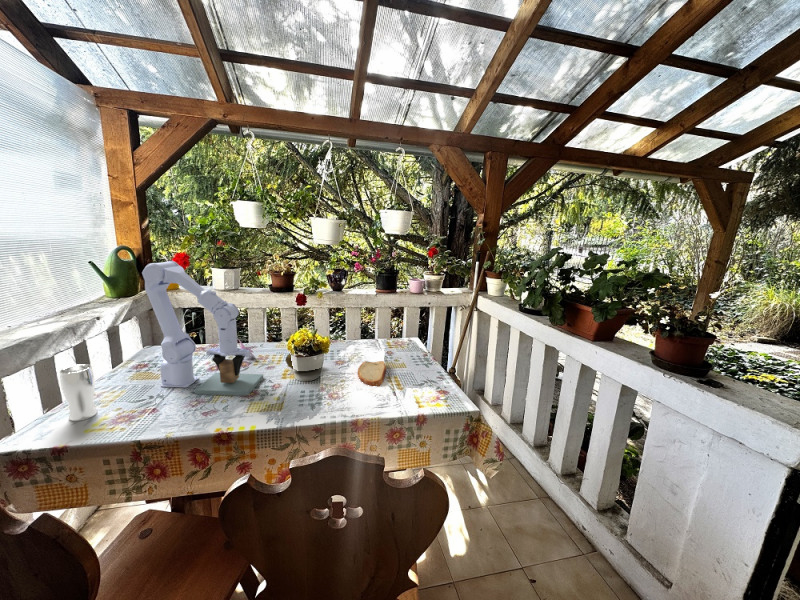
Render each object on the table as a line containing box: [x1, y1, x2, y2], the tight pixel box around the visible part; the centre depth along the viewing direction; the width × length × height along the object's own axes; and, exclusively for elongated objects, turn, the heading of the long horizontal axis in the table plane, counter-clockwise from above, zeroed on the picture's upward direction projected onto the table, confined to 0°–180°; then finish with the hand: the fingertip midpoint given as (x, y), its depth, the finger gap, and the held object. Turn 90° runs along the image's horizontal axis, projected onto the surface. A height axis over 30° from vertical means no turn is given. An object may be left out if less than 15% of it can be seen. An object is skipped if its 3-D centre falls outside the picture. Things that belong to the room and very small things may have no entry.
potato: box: [285, 353, 294, 370], centre depth 136 cm, size 8×13×8 cm, turn 94°
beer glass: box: [59, 363, 98, 422], centre depth 98 cm, size 7×7×15 cm
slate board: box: [193, 372, 264, 396], centre depth 122 cm, size 18×14×2 cm
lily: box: [237, 337, 254, 357], centre depth 146 cm, size 12×12×10 cm
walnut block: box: [218, 358, 239, 383], centre depth 120 cm, size 4×4×7 cm
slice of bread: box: [357, 360, 387, 387], centre depth 137 cm, size 18×18×4 cm
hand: (230, 374), depth 121 cm, fingers closed on walnut block, 4 cm apart
